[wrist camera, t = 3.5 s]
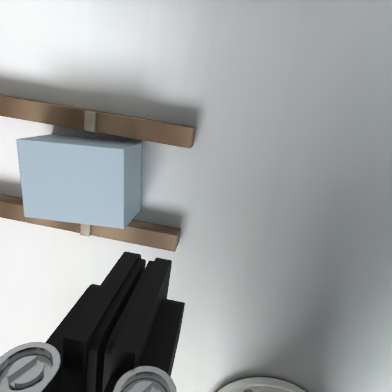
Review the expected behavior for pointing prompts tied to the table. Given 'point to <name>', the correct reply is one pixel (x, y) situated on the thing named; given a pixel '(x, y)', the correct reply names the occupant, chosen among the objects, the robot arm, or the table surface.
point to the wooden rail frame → (107, 125)
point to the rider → (80, 179)
